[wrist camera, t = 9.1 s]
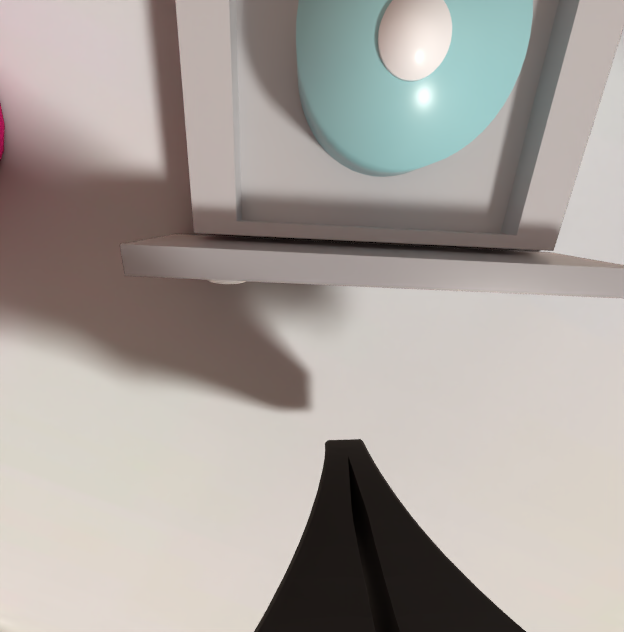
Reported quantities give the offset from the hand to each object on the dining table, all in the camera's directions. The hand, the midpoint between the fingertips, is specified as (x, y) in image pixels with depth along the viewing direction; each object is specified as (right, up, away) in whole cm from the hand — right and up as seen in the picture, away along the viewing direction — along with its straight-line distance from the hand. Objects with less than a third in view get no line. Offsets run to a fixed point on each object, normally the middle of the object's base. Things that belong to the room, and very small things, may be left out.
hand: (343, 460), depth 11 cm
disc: (+1, +12, -3) cm, 13 cm away
